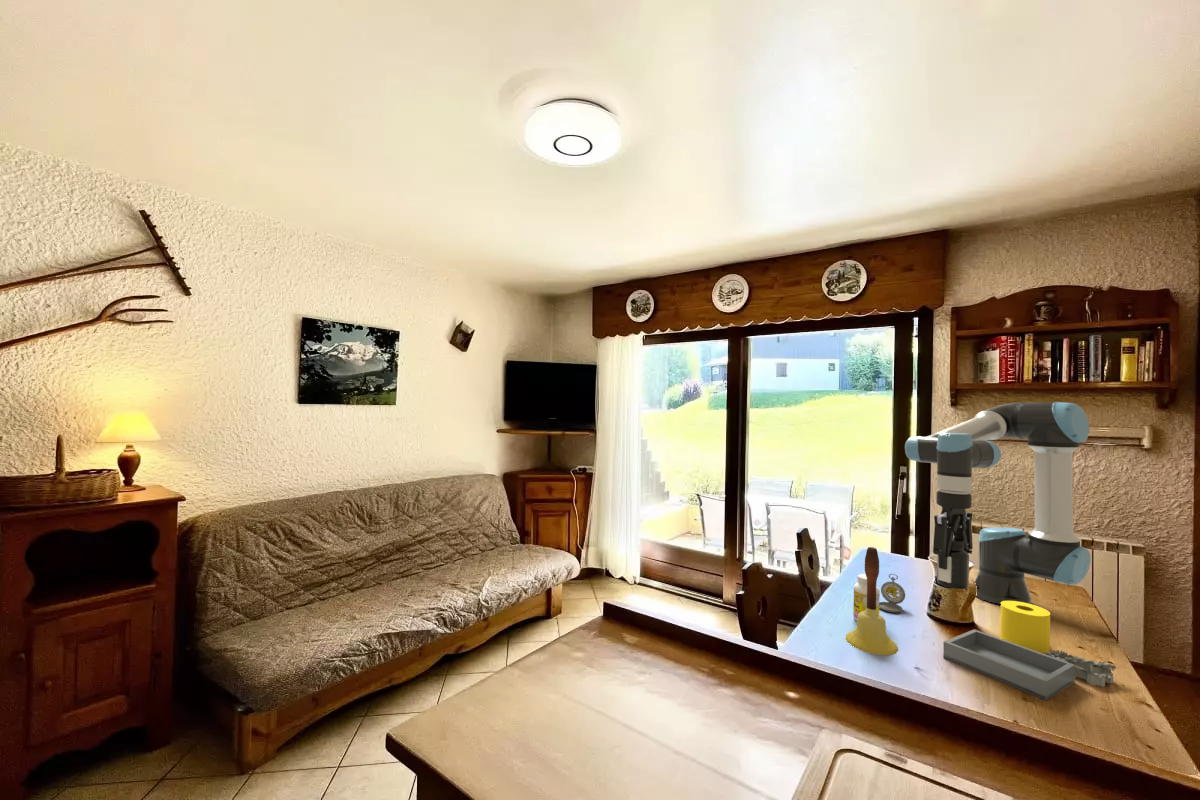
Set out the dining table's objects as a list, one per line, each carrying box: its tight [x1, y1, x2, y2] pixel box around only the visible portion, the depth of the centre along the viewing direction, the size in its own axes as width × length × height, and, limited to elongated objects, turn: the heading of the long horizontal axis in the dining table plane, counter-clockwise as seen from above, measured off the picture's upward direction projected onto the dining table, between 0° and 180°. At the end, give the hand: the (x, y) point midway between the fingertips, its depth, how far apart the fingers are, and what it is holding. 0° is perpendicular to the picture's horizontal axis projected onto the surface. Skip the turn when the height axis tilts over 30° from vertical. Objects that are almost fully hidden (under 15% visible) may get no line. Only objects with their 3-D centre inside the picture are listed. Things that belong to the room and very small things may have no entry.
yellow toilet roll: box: [999, 601, 1051, 654], centre depth 131 cm, size 10×10×9 cm
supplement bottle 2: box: [936, 536, 970, 590], centre depth 130 cm, size 7×7×12 cm
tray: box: [942, 628, 1076, 701], centre depth 118 cm, size 15×20×4 cm
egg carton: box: [1046, 649, 1117, 687], centre depth 116 cm, size 11×8×4 cm
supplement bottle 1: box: [852, 573, 881, 622], centre depth 143 cm, size 7×7×13 cm
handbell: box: [844, 546, 899, 656], centre depth 130 cm, size 12×12×25 cm
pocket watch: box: [879, 573, 906, 614], centre depth 153 cm, size 8×8×10 cm
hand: (952, 578), depth 130 cm, fingers closed on supplement bottle 2, 7 cm apart
